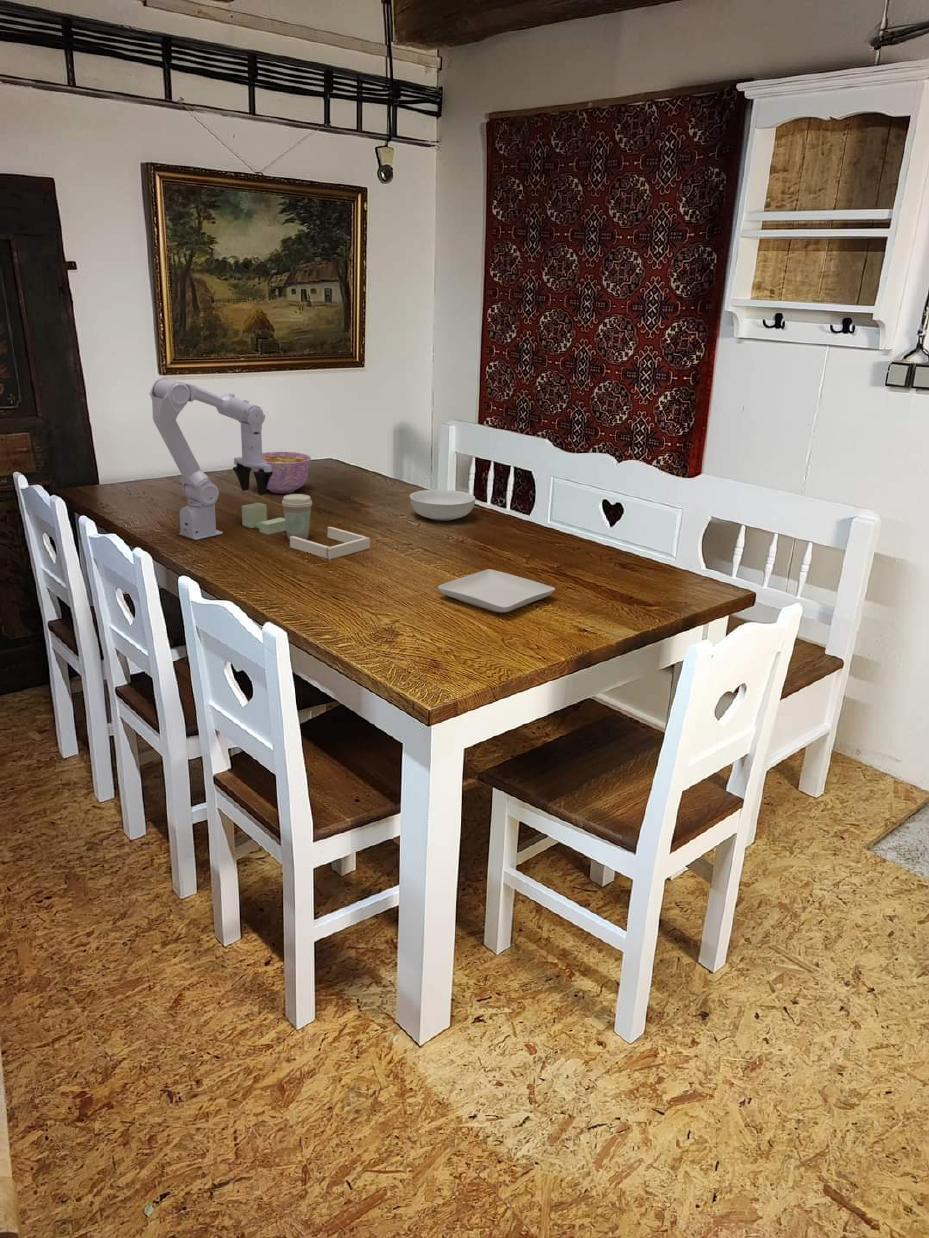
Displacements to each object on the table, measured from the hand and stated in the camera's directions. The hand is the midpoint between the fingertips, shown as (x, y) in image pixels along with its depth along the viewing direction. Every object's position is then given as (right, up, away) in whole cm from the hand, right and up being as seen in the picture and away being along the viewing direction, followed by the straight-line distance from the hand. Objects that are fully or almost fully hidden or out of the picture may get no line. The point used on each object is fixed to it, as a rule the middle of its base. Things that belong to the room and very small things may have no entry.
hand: (253, 492), depth 267 cm
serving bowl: (+55, -5, +22) cm, 59 cm away
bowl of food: (-1, +7, +45) cm, 46 cm away
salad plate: (+70, -33, -47) cm, 91 cm away
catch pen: (+25, -17, -15) cm, 33 cm away
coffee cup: (+14, -14, -7) cm, 22 cm away
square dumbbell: (+3, -10, +1) cm, 11 cm away
